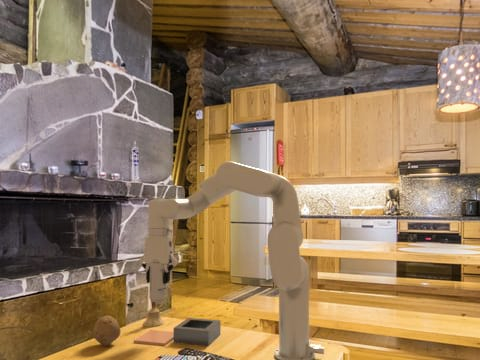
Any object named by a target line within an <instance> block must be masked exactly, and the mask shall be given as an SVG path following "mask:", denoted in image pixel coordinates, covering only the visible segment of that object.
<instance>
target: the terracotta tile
mask: <svg viewBox="0 0 480 360" xmlns="http://www.w3.org/2000/svg"><path fill="white" fill-rule="evenodd" d="M173 339H174V331H169V330H167V331H166V330H157V329H149V330H148V331H147V332H145V333H143V334H141V335H139V336H138V337H136V338H135V339H134V340H133V343H135V344H143V345H153V346H167V345H169V343H171V342H172V341H173Z"/></svg>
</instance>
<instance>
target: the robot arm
mask: <svg viewBox="0 0 480 360" xmlns="http://www.w3.org/2000/svg"><path fill="white" fill-rule="evenodd" d="M215 171H216V172H215V174H213V175H211V176H209V177H208V178H206V179H204V180H202V181H201V184H200V188H199V190H198V191H196V192H195V193H193V194H191V195H189V196H187V197H186V198H185V197H184V198H168V199H167V198H166V199H164V198H163V199H161V198H160V199H159V198H158V199H154V198H153V199H150V200H149V201H148V214H147V215H148V220H147V221H148V222H147V223H148V224H147V225H148V226H147V228H148V231H147V233H148V235H147V236H146V238H145V241H144V251H143V255H142V256H141V257H140V258H139V260H138V263H139V264H140V265H141V267H142V268H143V269H144V271H145V272H146V273H145V279H146V283H147V284H150V263H151V262H152V261H153V259H154V260H157V261H158V262H160V263H161V264H163V266H164V269H165V272H164V284H166V285H167V284H169V282H170V279H171V272H172V270H173V269H174V268H175V267H176V266H177V265H178V263H179V260H177V259H178V258H176V257H175V256H174V246H173V240H172V239H173V238H172V236H170V235H171V234H173V230H172V229H170V220H187V219H190V218H192V217H194V216H196V215H198V214H200V213H202V212H204V211H205V210H207V209H208V208H210V207H211V206H212V205H213V204H214V203H215V202H217V201H219V200H220V199H222V198H225V197H226V196H229V195H230V194H232V193H234V192H236V191H238V192H242V193H245V194H249V195H252V196H255V197H260V198H269V199H271V200H272V214H273V221H274V225H273V226H271V228H270V229H269V231H268V234H267V239H266V240H267V250H268V258H269V259H268V260H269V261H268V262H269V268H270V269H269V271H270V276H271V278H272V282H273V283H274V285H275V286H276V287H277V288H278V291H279V292H278V331H279V332H278V334H279V335H278V342H279V343H278V344H279V347H277V348H276V349H275V350H274V357H275V358H276V359H277V360H314V359H315V356H316V354H319V355H324V354H325V347H324V346H323V347H322V346H321V345H320V344H314V343H312V339H310V277H311V276H310V274H311V273H310V267H309V263H308V262H307V260H306V259H305V258H304V257H302V256H301V254H300V253H301V252H300V246H302V244H303V242H304V234H303V226H302V220H301V214H300V208H299V207H300V206H299V200H298V199H299V198H298V196H297V191H296V189H295V186H294V185H293V184H292V182H291V181H290V180H289V179H288V178H286V177H284V176H282V175H279V174H277V173H273V172H271V171H267V170H264V169H260V168H255V167H252V166H249V165H244V164H241V163H239V162H238V163H237V162H235V161H232V160H230V161H229V160H228V161H224V162H223V163H221V164H220V165H219V166H218V167H217V170H215Z"/></svg>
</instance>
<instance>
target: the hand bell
mask: <svg viewBox="0 0 480 360" xmlns="http://www.w3.org/2000/svg"><path fill="white" fill-rule="evenodd" d="M164 324H165V321H164V320H162V317H161V312H160V309H158V308H157V302H152V301H151V308H150V309H149V310H148V312H147V318H146V320H145V321H143V324H142V325H143V326H144V327H147V326H148V327H147V328H149V327H150V328H153V327H154V326H156V327H160V325H161V326H163V325H164Z"/></svg>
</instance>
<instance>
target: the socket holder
mask: <svg viewBox="0 0 480 360" xmlns="http://www.w3.org/2000/svg"><path fill="white" fill-rule="evenodd" d="M173 332H174V339H173V340H172V341H173V343H174V344H182V343H183V345H194V346H205V347H209V346H210V345H211V344H212V343H213V342H214V341H215V340H216V339H217V338H218V337H219V336H220V335H221V320H220V319H207V318H193V317H187V318H185V320H182V322H180V323H179V324H177V325H175V326H174V327H173Z"/></svg>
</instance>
